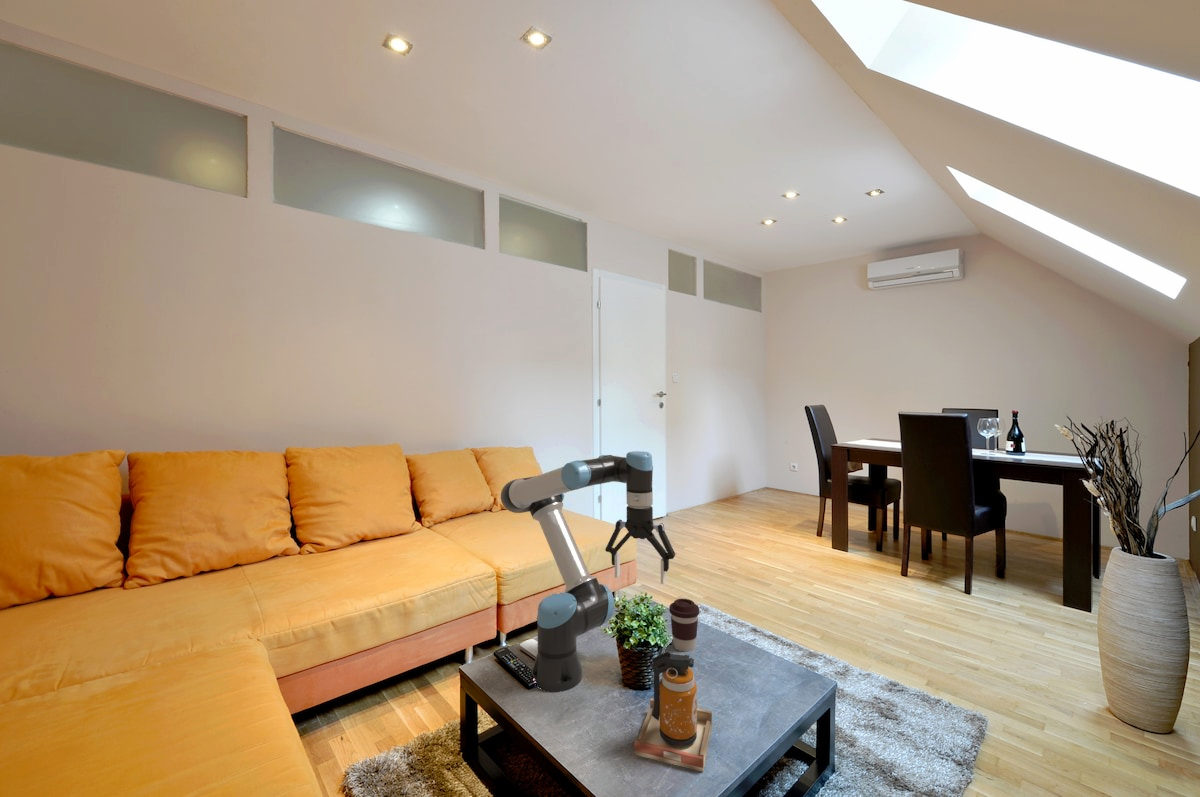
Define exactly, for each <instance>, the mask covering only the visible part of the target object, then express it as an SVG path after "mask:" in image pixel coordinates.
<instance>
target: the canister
mask: <svg viewBox="0 0 1200 797" xmlns="http://www.w3.org/2000/svg"><path fill="white" fill-rule="evenodd" d="M651 660H652V663H650V666H651V668H652V672H653V678H652V680H653V683H652V686H653V699H654V708H653V711H652V716H653V717H654V718H655V719H657V720H658V721H659V715H660V735H661V737H662V739H663V740H664V741H666V742H667V743H669V744H671V745H674V746H688V745H690V744H692V743H693V742H694V741H695V740H696V737H697V708H698V706H697V705H698V704H697V703H698V702H697V701H698V700H697V699H698V698H697V695H698V690H697V687H698V685H697V683H696V681H695V674H694V672H693V670H692V669H691V668H693V667H694V663H695V662H694V661H695V659H694V658H693V657H690V655H688V654H685V655H683V654H682V655H681V654H676V653H670V652H669V650H668V651H666V652H663V653H662V654H660V655H657V656H655V657H653V658H652V659H651ZM660 676H661V679H660Z"/></svg>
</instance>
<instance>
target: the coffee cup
mask: <svg viewBox="0 0 1200 797" xmlns="http://www.w3.org/2000/svg"><path fill="white" fill-rule="evenodd" d="M668 608H669V611H668V612H669V613H670V614H671V615H670V623H671V625H670V626H671V634H672V640H673V641H672V643H673V647H674V649H675V650H677V651H680V652H686V653H687V652H691V651H694V650H695V649H696V641H697V636H698V622H699V619H698V616H699V615H700V606H699V605H697V604H696V603H695V602H694V601H693V600H691V599H688V598H678V599H676V600H674V601H673V602H672V603H671V604H670V605H669V607H668Z"/></svg>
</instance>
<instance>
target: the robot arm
mask: <svg viewBox="0 0 1200 797" xmlns="http://www.w3.org/2000/svg"><path fill="white" fill-rule="evenodd" d="M653 470H654V466H653V457H652V453H650V452H648V451H639V450H637V451H635V450H634V451H629V452H627V453H626V456H625V457H624V456H623V457H622V456H618V455H612V454H603V455H599V456H598V457H597V458H596V457H595V458H591V459H584V460H574V461H571V462H567V463H565V464H564V466H561V467H558V468H556V469H552V470H550V471H547V472H545V473H542V474H541V473H540V474H539V475H535V476H529V477H523V478H516V479H513V480H510V481H509V482H506V484H505V485H504V486H503V487H502V489H501V492H500V502H501V504H502V506H503V508H505V509H506V510H507V511H508V512H510V513H514V514H522V513H528V512H529V513H530V516H531V517H532V519H533V520H536V521H538V523H539V525H540V527H541V530H542V532H543V535H544V536H545V539H546V540H545V541H546V542H547V544H548V547H549V549H550V551H551V553H552V554H551V555H552V557H553V558H554V562H555V563H556V566H557V568H558V571H559V573H560V575H561V578H562V580H563V582H564V584H565V590H564V592H559V593H558V592H557V593H552V594H550V595H548V596H545V597H544V598H542V599H541V601H540V602H539V604H538V607H537V614H536V623H537V654H536V657H535V660H534V664H533V667H532V670H531V676H532V675H533V677H534V678H535V679H536V682H537V686H538V687H539V688H541V689H542V690H541V689H540V690H541V691H543V690H545V691H544V692H547V691H549V693H561V692H565V691H569V690H572V689H574V688H575V687H576V686H578V685H579V684H580V683H581V681H582V680H583V667H582V664H581V660H580V656H579V654H578V651H577V637H580V636H581V635H583V634H586V633H588V632H589V631H592V630H594V629H596V628H599V627H600V628H601V626H603V625H604V624H605V623H608V622H609V621H610V620H611V619H612V616H613V614H614V610H615V600H614V595H613V593H612V591H611V589H610V588H609V587H608V586H606V585H605V584H603V583H602V584H601V583H599V581H598V578H597V577H596V576H593V575H591V574H590V572H589V570H588V567H587V564H586V563H585V561H584V558H583V556H582V553H581V552H580V549H579V547H578V545H577V543H576V540H575V539H574V538H575V537H574V536H573V534H572V531H571V529H570V528H569V525H568V522H567V520H566V518H565V516H564V513H563V511H562V509H563V507H564V503H563V501H564V498H565V494H566V493H569V492H572V491H576V490H580V489H583V488H586V487H591V486H596V485H602V484H606V483H613V482H614V483H615V482H616V483H623V484H626V485H625V486H626V487H625V488H626V489H625V490H626V493H625V494H626V505H627V506H626V521H624V520H622V519H618V520H617V521H615V529H614V531H613V532H612V535H611V537H610V539H609V541H608V543H607V545H606V546H605V549H604V551H605V552H606V553H609V554H611V564H612V566H614V578H615V579H618V578H619V576H620V575H621V552H619V550H620V549H621V548H622V546H624V544H625V543H626V542H627V541H628V540H629V539H630V538H631V537H632V538H633V539H640V540H645V539H646V540H647V541H648V542H649V543H650V544H651V545H652V546H653V548H654V550H656V552H657V553H658V554H659V556H660V557H661V559H660V584H661V585H664V584H665V582H666V573H667V572H668V571H669V569H670V560H674V558H675V557H676V552H675V550H674V548H673V546H672V545H671V541H670V539H669V537H668V536H667V534H666V532H665V524H664V523H662V522H661V523H659V524H654V520H653V519H654V518H653V517H654V516H653V515H654V513H653V511H654V509H653V506H652V505H654V504H653V502H654V499H653V495H654V494H653V472H654V471H653ZM624 528H625V529H626V530H627V533H626V534H625V535H624V536H623V538H622V539H621V540H620V541H619V542H618V543H617V544H616V545H615V542H616V540H617V538H618V536H619V534H620V532H621V530H622V529H624ZM653 530H655V532H656V533H658V536H659V538H660V540H661V542H662V544H663V545H662V544H661V543H660V542H659V540H658V539H657V538H656V536H655V534H654V532H653ZM614 545H615V547H613V546H614ZM663 546H664V547H663ZM539 688H538V689H539ZM560 691H561V692H560Z"/></svg>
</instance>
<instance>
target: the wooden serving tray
mask: <svg viewBox="0 0 1200 797" xmlns="http://www.w3.org/2000/svg"><path fill="white" fill-rule="evenodd" d="M653 708H654V698H650V700H649V709H648V711H647V714H646V717H645V719H644V721H643V724H642V726H641V728H640V731H639V733H638V736H637V739H635V740H634V741H633V742H634V744H633V745H634V747H633V749H634V755H636V756H638V757H643V758H647V759H651V760H655V761H658V762H663V763H666V764H671V765H675V766H678V767H683V768H685V769H689V770H694V771H697V772H701V773H704V770H705V765H706V760H707V759H706V758H707V755H708V749H709V743H710V738H711V732H712V728H713V711H712V710H707V709H702V708H698V707H697V737H696V740H695V741H694V742H693V743H692V744H690V745H688V746H674V745H671V744H669V743H667V742H666V741H664V740H663V739H662V737H661V735H660V715H659V721H658V720H657V719H655V718H654V717H653V716H652V711H653Z"/></svg>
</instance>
